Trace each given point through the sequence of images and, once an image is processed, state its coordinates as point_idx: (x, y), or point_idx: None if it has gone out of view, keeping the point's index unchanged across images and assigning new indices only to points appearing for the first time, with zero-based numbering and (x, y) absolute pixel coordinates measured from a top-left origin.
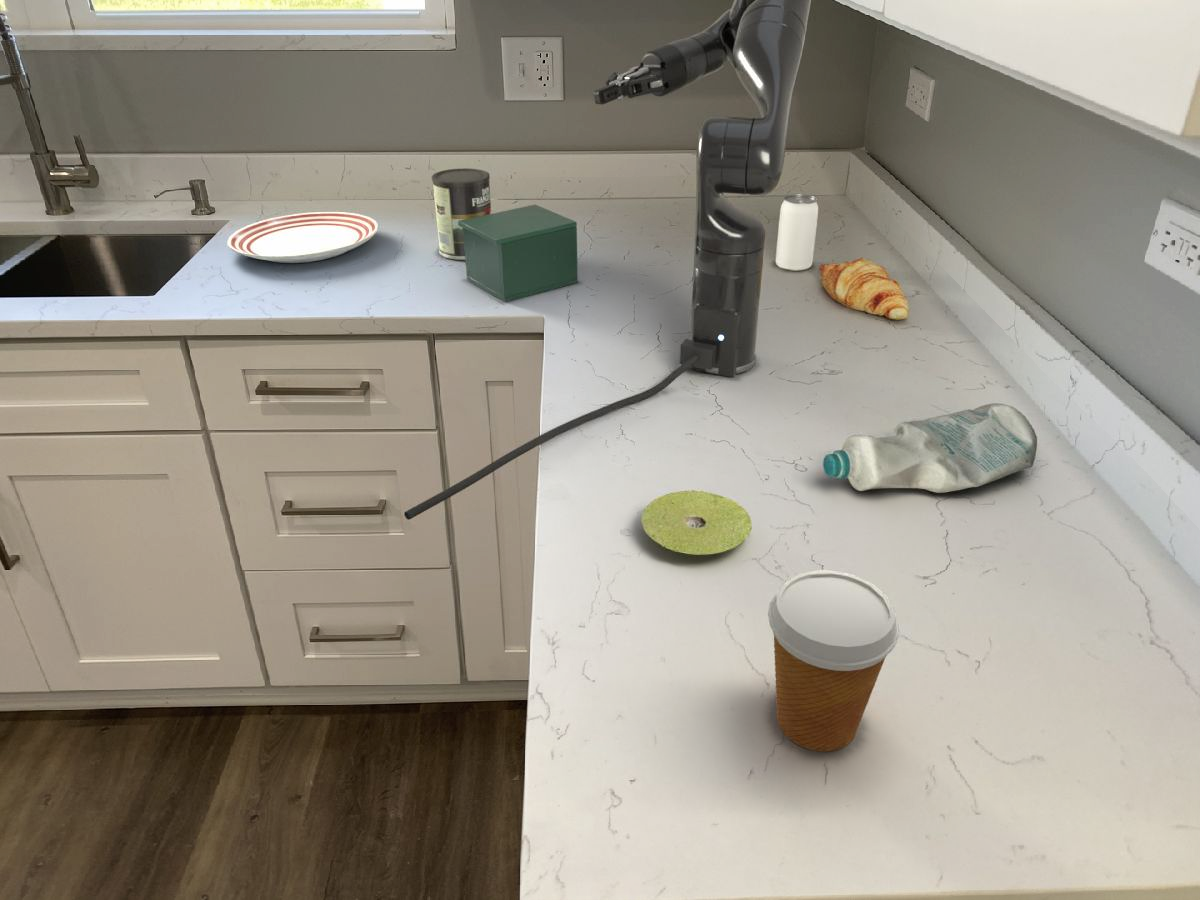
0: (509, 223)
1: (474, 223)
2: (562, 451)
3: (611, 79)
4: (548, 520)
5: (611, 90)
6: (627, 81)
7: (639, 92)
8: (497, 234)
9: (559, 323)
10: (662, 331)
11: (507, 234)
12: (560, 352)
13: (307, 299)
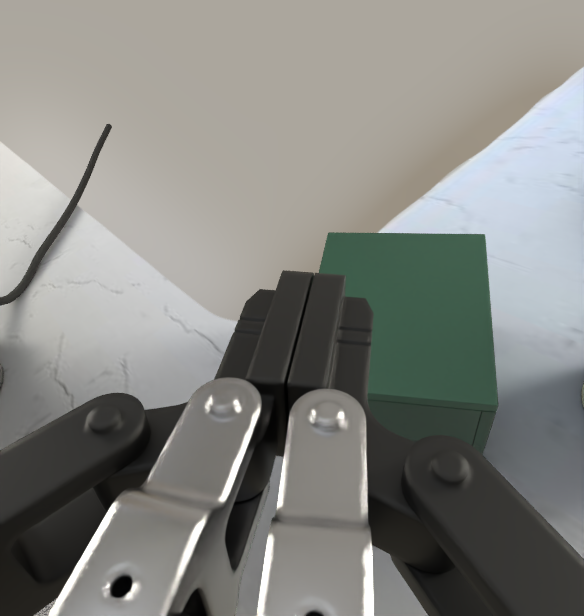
0: (395, 286)
1: (444, 245)
2: (59, 204)
3: (465, 522)
4: (32, 170)
5: (232, 335)
6: (109, 405)
7: (51, 527)
8: (352, 244)
9: (216, 329)
10: (67, 408)
11: (338, 255)
12: (160, 285)
13: (534, 170)
